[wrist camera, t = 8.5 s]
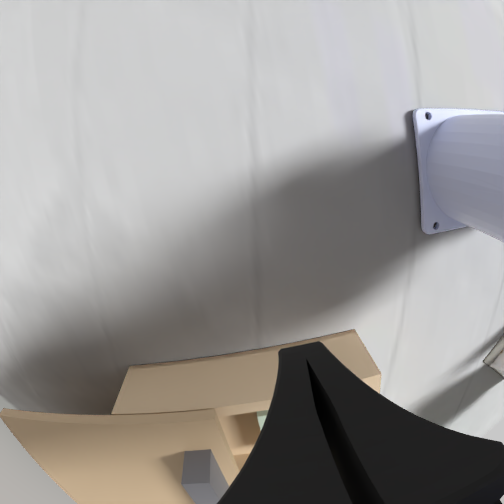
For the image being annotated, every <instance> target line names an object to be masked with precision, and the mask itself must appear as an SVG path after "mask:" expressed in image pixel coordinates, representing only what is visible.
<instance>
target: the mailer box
mask: <svg viewBox="0 0 504 504" xmlns="http://www.w3.org/2000/svg"><path fill="white" fill-rule="evenodd" d="M317 341H320V342H322V343H323V344H324V345H325V346H326V347H327V349H328V350H329V351H330V352H331V353H332V354H333V355H334V356H335V357H336V358H337V359H338V360H339V361H340V362H341V363H342V364H344V365H345V366H346V367H347V368H348V369H349V370H350V371H351V372H353V373H354V374H355V375H356V376H357V377H358V378H360V379H361V380H362V381H363V382H365V383H366V384H367V385H368V386H370V387H371V388H372V389H374V390H375V391H377V392H378V393H379V394H380V384H381V372H380V371H379V369H378V367H377V366H376V364H375V362H374V361H373V359H372V357H371V356H370V354H369V352H368V351H367V349H366V347H365V346H364V344H363V342H362V341H361V339H360V337H359V336H358V334H357V332H356V331H355V329H353V330H349V331H345V332H340V333H336V334H332V335H327V336H323V337H318V338H314V339H309V340H304V341H299V342H294V343H289V344H284V345H279V346H273V347H268V348H262V349H257V350H251V351H245V352H239V353H232V354H226V355H219V356H212V357H205V358H198V359H190V360H182V361H174V362H165V363H155V364H145V365H134V366H129V369H128V371H127V374H126V376H125V379H124V382H123V384H122V387H121V389H120V392H119V394H118V397H117V400H116V402H115V405H114V408H113V410H112V413H111V415H141V414H162V413H177V412H189V411H200V410H209V409H215V410H216V413H217V416H218V418H219V421H220V424H221V426H222V429H223V431H224V434H225V437H226V439H227V442H228V444H229V447H230V449H231V452H232V454H233V457H234V459H235V461H236V464H237V466H238V469H239V471H240V470H241V469H242V467H243V465H244V464H245V462H246V460H247V458H248V456H249V454H250V453H251V451H252V449H253V447H254V445H255V443H256V441H257V439H258V436H259V434H260V432H261V429H262V427H263V424H264V422H265V419H266V416H267V413H268V410H269V407H270V404H271V401H272V397H273V393H274V389H275V384H276V379H277V373H278V363H279V357H278V352H279V350H280V349H282V348H288V347H293V346H298V345H303V344H307V343H312V342H317Z"/></svg>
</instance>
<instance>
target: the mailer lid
mask: <svg viewBox="0 0 504 504" xmlns="http://www.w3.org/2000/svg"><path fill="white" fill-rule="evenodd" d="M0 417H1V418H2V420H3V421H4V423H5V424H6V425H7V427H8V428H9V429H10V430H11V432H12V433H13V435H14V436H15V437H16V438H17V440H18V441H19V442H20V443H21V444H22V446H23V447H24V448H25V449H26V451H27V452H28V453H29V454H30V455H31V456H32V458H33V459H34V460H35V461H36V462H37V463H38V464H39V465H40V467H41V468H42V469H43V470H44V471H45V472H46V473H47V474H48V475H49V476H50V477H51V478H52V479H53V480H54V481H55V482H56V483H57V484H58V485H59V486H60V487H61V488H62V489H63V490H64V491H65V492H66V493H67V494H68V495H69V496H70V497H71V498H72V499H73V500H74V501H75V502H76V503H78V504H217V503H218V501H219V500H220V499H221V498H222V496H223V495H224V494H225V492H226V491H227V489H228V488H229V487H230V485H231V484H232V482H233V481H234V479H235V478H236V476H237V475H238V473H239V472H240V471H239V469H238V466H237V464H236V461H235V459H234V457H233V454H232V452H231V449H230V447H229V444H228V442H227V439H226V437H225V434H224V431H223V429H222V426H221V424H220V421H219V418H218V416H217V413H216V410H215V409H209V410H200V411H189V412H177V413H162V414H141V415H77V414H57V413H43V412H31V411H21V410H13V409H5V408H3V410H2V411H1V413H0Z"/></svg>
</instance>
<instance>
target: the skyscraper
mask: <svg viewBox="0 0 504 504" xmlns="http://www.w3.org/2000/svg"><path fill="white" fill-rule="evenodd" d="M483 361H484V362H485V363H486V364H487V365H488V366H490V367H491V368H492V369H493V370H495V371H496V372H497V373H498V374H499V375H501V376H502V377H503V378H504V334H503V336H502V337H501V338H500V340H499V341H498V342H497V344H496V345H495V346H494V348H493V349H492V350H491V352H490V353H489V354H488V355H487V357H486V358H485V359H484V360H483Z"/></svg>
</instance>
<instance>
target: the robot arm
mask: <svg viewBox="0 0 504 504" xmlns="http://www.w3.org/2000/svg"><path fill="white" fill-rule="evenodd" d="M425 113H427V114H428V120H427V119H426V117H425ZM413 123H414V131H415V139H416V148H417V157H418V169H419V182H420V200H421V228H422V231H423V232H424V233H426V234H434V233H439V232H444V231H449V230H453V229H458V228H463V227H468V226H470V227H472V228H474V229H477V230H479V231H481V232H483V233H485V234H487V235H490V236H492V237H494V238H496V239H498V240H500V241H502V242H504V112H502V111H489V110H474V109H449V108H418V109H415V110H414V111H413ZM435 222H436V226H435V228H433V224H434V223H435ZM278 357H279V363H278V373H277V379H276V384H275V389H274V393H273V397H272V401H271V404H270V407H269V410H268V413H267V416H266V419H265V422H264V424H263V427H262V429H261V432H260V434H259V436H258V439H257V441H256V443H255V445H254V447H253V449H252V451H251V453H250V454H249V456H248V458H247V460H246V462H245V464H244V465H243V467H242V469H241V470H240V472H239V473H238V475H237V476H236V478H235V479H234V481H233V482H232V484H231V485H230V487H229V488H228V489H227V491H226V492H225V494H224V495H223V496H222V498H221V499H220V500H219V501H218V503H217V504H502V503H501V501H500V498H501V497H502V496H503V495H504V445H503V444H502V442H498V441H493V440H488V439H484V438H479V437H474V436H470V435H466V434H463V433H460V432H456V431H453V430H450V429H447V428H444V427H442V426H439V425H437V424H435V423H432V422H430V421H428V420H425V419H423V418H421V417H418V416H416V415H414V414H413V413H411V412H409V411H407V410H405V409H403V408H401V407H400V406H398V405H396V404H395V403H393V402H391V401H390V400H388V399H387V398H385V397H384V396H382V395H381V394H379V393H378V392H377V391H375V390H374V389H372V388H371V387H370V386H368V385H367V384H366V383H365V382H363V381H362V380H361V379H360V378H358V377H357V376H356V375H355V374H354V373H353V372H351V371H350V370H349V369H348V368H347V367H346V366H345V365H344V364H342V363H341V362H340V361H339V360H338V359H337V358H336V357H335V356H334V355H333V354H332V353H331V352H330V351H329V350H328V349H327V347H326V346H325V345H324V344H323V343H322V342H320V341H317V342H312V343H307V344H303V345H298V346H293V347H288V348H282V349H280V350H279V352H278Z"/></svg>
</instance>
